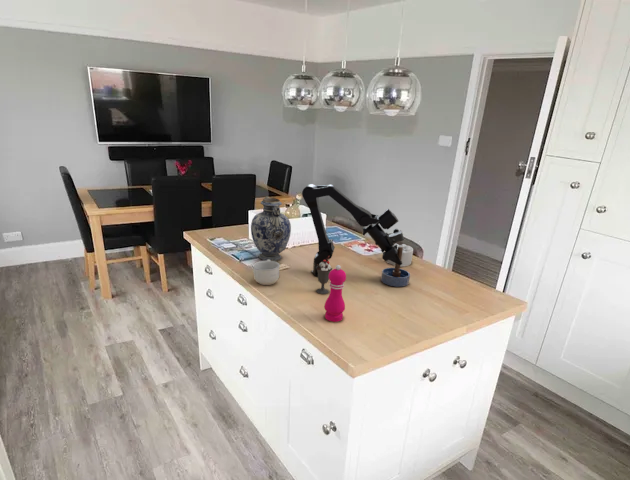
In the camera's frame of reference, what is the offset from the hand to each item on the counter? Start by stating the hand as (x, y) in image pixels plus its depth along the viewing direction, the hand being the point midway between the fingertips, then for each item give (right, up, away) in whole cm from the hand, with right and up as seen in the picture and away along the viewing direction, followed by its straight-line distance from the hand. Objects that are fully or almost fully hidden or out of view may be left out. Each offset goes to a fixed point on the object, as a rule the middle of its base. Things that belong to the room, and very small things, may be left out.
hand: (401, 263), depth 180 cm
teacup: (-57, -8, -5) cm, 58 cm away
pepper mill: (-30, -22, -32) cm, 49 cm away
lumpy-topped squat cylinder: (+5, +3, +29) cm, 29 cm away
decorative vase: (-59, +5, +22) cm, 63 cm away
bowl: (-2, -8, +4) cm, 9 cm away
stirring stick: (-2, -6, +3) cm, 7 cm away
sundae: (-34, -12, -11) cm, 38 cm away
